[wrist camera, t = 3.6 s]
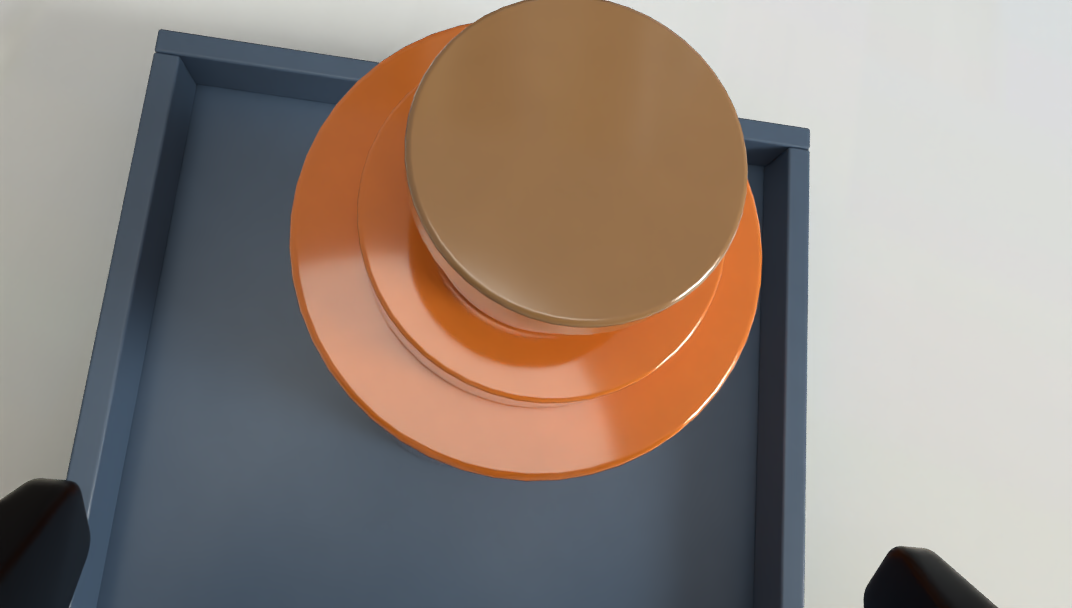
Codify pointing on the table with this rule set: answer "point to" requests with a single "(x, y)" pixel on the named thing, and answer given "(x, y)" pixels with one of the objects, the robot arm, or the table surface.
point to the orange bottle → (530, 241)
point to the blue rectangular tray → (352, 437)
